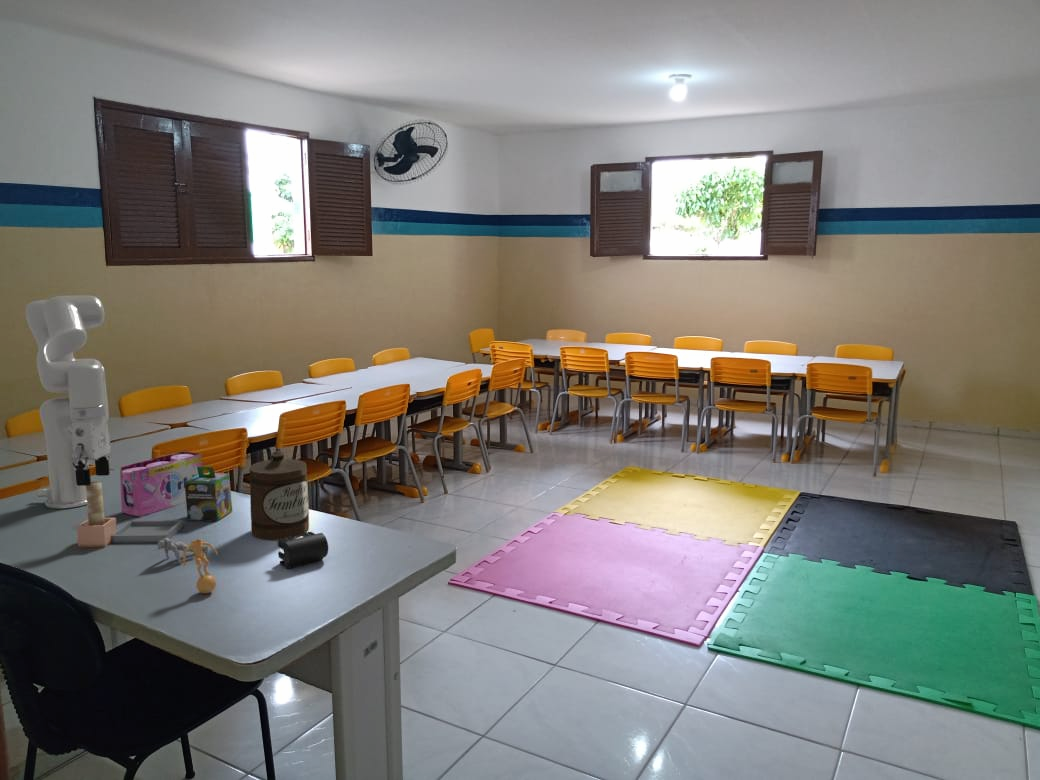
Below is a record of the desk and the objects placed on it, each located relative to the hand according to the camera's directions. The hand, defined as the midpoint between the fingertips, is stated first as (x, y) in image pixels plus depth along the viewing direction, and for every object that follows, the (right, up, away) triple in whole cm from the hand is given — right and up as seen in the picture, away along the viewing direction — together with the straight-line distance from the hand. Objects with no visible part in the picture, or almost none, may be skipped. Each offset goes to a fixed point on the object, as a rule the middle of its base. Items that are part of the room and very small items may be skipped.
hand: (93, 480), depth 196 cm
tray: (+9, -15, +10) cm, 20 cm away
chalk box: (+19, -13, +25) cm, 34 cm away
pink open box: (-1, -16, +3) cm, 17 cm away
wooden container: (+43, -15, +14) cm, 48 cm away
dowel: (-1, -16, +3) cm, 16 cm away
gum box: (+2, -12, +35) cm, 37 cm away
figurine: (+38, -22, -25) cm, 51 cm away
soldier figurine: (+25, -19, -7) cm, 32 cm away
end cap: (+55, -19, -9) cm, 59 cm away
